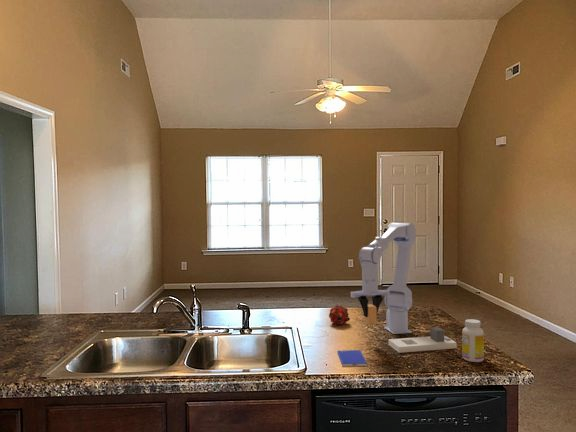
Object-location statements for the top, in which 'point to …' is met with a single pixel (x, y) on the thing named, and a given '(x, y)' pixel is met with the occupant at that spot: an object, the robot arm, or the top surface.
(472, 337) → the supplement bottle
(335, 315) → the dragon fruit
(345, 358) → the hard drive
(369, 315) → the orange rectangular block
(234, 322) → the top surface
